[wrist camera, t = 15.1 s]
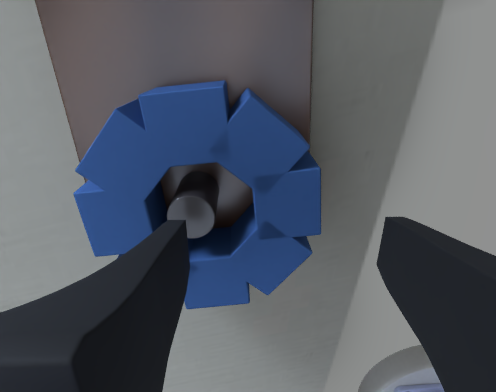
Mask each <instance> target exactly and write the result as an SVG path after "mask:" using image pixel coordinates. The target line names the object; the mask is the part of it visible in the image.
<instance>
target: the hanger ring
mask: <svg viewBox="0 0 496 392" xmlns="http://www.w3.org/2000/svg"><path fill="white" fill-rule="evenodd" d="M138 99H139V100H138ZM138 99H136V100H134V101H132V102H129V103H127V104H125V105H123V106H120V107H118V108H116V109H114V111H113V113H112V114H111V116H110V117H109V119H108V120H107V122H106V123H105V125H104V126H103V128H102V130H101V131H100V133H99V134H98V136H97V137H96V139H95V140H94V142H93V143H92V145H91V147H90V148H89V150H88V151H87V153H86V154H85V156H84V157H83V159H82V160H81V162H80V164H79V165H78V167H77V168H76V170H75V171H76V172H77V173H79V174H80V175H82V176H83V177H85V178H86V179H88V181H87V182H86V183H85V184H84V185H83V186H81V187H80V188H79V189H78V190H77V191H75V192H74V197H75V200H76V203H77V206H78V209H79V212H80V215H81V218H82V221H83V223H84V226H85V229H86V232H87V235H88V238H89V241H90V244H91V247H92V249H93V252H94V255H95V256H96V257H97V256H108V255H118V254H119V256H118V258H119V257H121V256H122V255H123V254H125V253H126V252H128V251H129V250H131V249H132V248H133V247H135V246H136V245H137V244H139V243H140V242H141V241H143V240H144V239H145V238H146V237H148V236H149V235H150V234H151V233H153V232H154V231H155V230H156V229H158V228H159V227H160V226H161V225H162V224H164V223H165V222H166V221H167V208H166V204H165V199H164V195H163V190H162V186H161V181H160V180H161V179H162V177H163V176H164V175H165V174H166V172H167V171H168V170H169V168H170V167H175V166H185V165H195V164H205V163H215V162H217V163H219V164H220V165H221V166H223V167H224V168H225V169H227V170H228V171H229V172H231V173H232V174H233V175H234V176H236V177H237V178H238V179H240V180H241V181H242V182H244V183H245V184H246V185H248V186H249V187H250V188H252V193H253V203H252V204H251V205H250V206H249V208H248V209H247V210H246V211H245V212H244V213H243V214H242V215H241V216H240V217H239V219H238V220H237V221H236V222H235V223H234V224H233V225H232V226H231V227H224V228H214V229H212V230H211V231H210V232H209V233H208V234H206V235H204V236H202V237H200V238H187V239H188V250H189V262H190V271H189V279H188V285H187V292H186V295H185V299H184V301H185V305H186V308H187V309H195V308H206V307H216V306H227V305H237V304H247V303H249V302H250V295H249V284H251V285H252V286H254V287H255V288H257V289H259V290H260V291H262V292H263V293H265V294H266V295H269V294H270V293H271V292H272V291H273V290H274V289H275V288H276V287H277V286H278V285H279V284H281V283H282V282H283V281H284V280H285V279H286V278H287V277H288V276H289V275H290V274H291V273H292V272H293V271H294V270H295V269H296V268H297V267H298V266H299V265H301V264H302V263H303V262H304V261H305V260H306V259H307V258H308V257H309V256H310V255H311V254H312V250H311V248H310V245H309V242H308V240H307V237H306V236H312V235H320V234H321V169H320V167H319V166H318V164H317V163H316V162H315V160H314V159H313V157H312V156H311V155H310V153H309V152H308V149H309V148H310V145H309V144H308V143H307V141H306V140H305V139H304V138H303V136H302V135H301V134H300V133H299V131H298V130H297V129H296V128H294V127H293V126H292V125H291V124H290V123H289V122H287V121H286V120H285V119H284V118H283V117H282V116H281V115H279V114H278V113H277V112H276V111H275V110H274V109H272V108H271V107H270V106H269V105H268V104H267V103H265V102H264V101H263V100H262V99H261V98H260V97H259V96H257V95H256V94H255V93H254V92H253V91H252V90H250V89H249V88H247V89H246V90H245V91H244V92H243V93H242V95H241V96H240V97H239V99H238V100H237V101H236V102H235V104H234V105H233V106H232V108H231V109H230V108H229V100H228V91H227V82H226V81H225V80H223V81H214V82H204V83H194V84H185V85H175V86H166V87H157V88H154V89H152V90H149V91H147V92H144V93H142V94H140V95H138ZM118 258H117V259H118Z"/></svg>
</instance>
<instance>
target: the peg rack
mask: <svg viewBox="0 0 496 392" xmlns="http://www.w3.org/2000/svg"><path fill="white" fill-rule="evenodd" d="M35 3H36V6H37V10H38V14H39V17H40V21H41V24H42V28H43V32H44V35H45V39H46V42H47V46H48V50H49V53H50V57H51V60H52V64H53V68H54V71H55V75H56V79H57V82H58V86H59V89H60V93H61V97H62V100H63V104H64V107H65V111H66V115H67V118H68V122H69V125H70V129H71V133H72V136H73V140H74V143H75V147H76V151H77V154H78V158H79V162H81V160H82V159H83V157H84V156H85V154H86V153H87V151H88V150H89V148H90V147H91V145H92V143H93V142H94V140H95V139H96V137H97V136H98V134H99V133H100V131H101V130H102V128H103V126H104V125H105V123H106V122H107V120H108V119H109V117H110V116H111V114H112V113H113V111H114V109H116V108H118V107H120V106H123V105H125V104H127V103H129V102H132V101H134V100H136V99H138V95H140V94H142V93H144V92H147V91H149V90H152V89H154V88H157V87H166V86H175V85H185V84H194V83H204V82H214V81H223V80H225V81H226V82H227V91H228V100H229V108H230V109H231V108H232V106H233V105H234V104H235V102H236V101H237V100H238V99H239V97H240V96H241V95H242V93H243V92H244V91H245V90H246V89H247V88H249V89H250V90H252V91H253V92H254V93H255V94H256V95H257V96H259V97H260V98H261V99H262V100H263V101H264V102H265V103H267V104H268V105H269V106H270V107H271V108H272V109H274V110H275V111H276V112H277V113H278V114H279V115H281V116H282V117H283V118H284V119H285V120H286V121H287V122H289V123H290V124H291V125H292V126H293V127H294V128H296V129H297V130H298V131H299V133H300V134H301V135H302V136H303V138H304V139H305V140H306V141H307V143H308V144H309V145H310V121H311V82H312V43H313V4H314V0H35ZM138 100H139V99H138ZM308 152H309V153H310V148H309V149H308ZM84 180H85V183H86V182H87V181H88V179H86V178H85V177H84ZM160 181H161V186H162V190H163V195H164V199H165V204H166V208H167V221H168V220H186V227H187V238H200V237H202V236H204V235H206V234H208V233H209V232H210V231H211V230H212V229H214V228H224V227H231V226H232V225H233V224H234V223H235V222H236V221H237V220H238V219H239V217H240V216H241V215H242V214H243V213H244V212H245V211H246V210H247V209H248V208H249V206H250V205H251V204H252V203H253V193H252V188H250V187H249V186H248V185H246V184H245V183H244V182H242V181H241V180H240V179H238V178H237V177H236V176H234V175H233V174H232V173H231V172H229V171H228V170H227V169H225V168H224V167H223V166H221V165H220V164H219V163H217V162H215V163H205V164H195V165H185V166H175V167H170V168H169V170H168V171H167V172H166V174H165V175H164V176H163V177H162V179H161V180H160Z"/></svg>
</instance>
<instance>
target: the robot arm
mask: <svg viewBox="0 0 496 392" xmlns="http://www.w3.org/2000/svg"><path fill="white" fill-rule="evenodd" d="M377 266H378V269H379V271H380V274H381V276H382V279H383V281H384V283H385V285H386V287H387V289H388V291H389V293H390V294H391V296H392V297H393V299H394V301H395V302H396V304H397V306H398V307H399V309H400V311H401V312H402V314H403V315H404V317H405V319H406V320H407V322H408V323H409V325H410V327H411V328H412V330H413V331H414V333H415V335H416V336H417V338H418V339H419V341H420V343H421V344H422V346H423V348H424V350H425V352H426V353H427V355H428V357H429V359H430V361H431V363H432V365H433V367H434V370H435V372H436V374H437V376H438V378H439V380H440V382H441V383H438V384H422V385H406V386H398V387H396V388H395V390H394V392H496V256H494V255H492V254H489V253H487V252H484V251H482V250H480V249H477V248H475V247H472V246H470V245H468V244H465V243H463V242H461V241H458V240H456V239H454V238H452V237H449V236H447V235H445V234H443V233H441V232H439V231H436V230H434V229H432V228H430V227H427V226H425V225H423V224H421V223H418V222H416V221H413V220H411V219H408V218H405V217H386V218H385V223H384V229H383V234H382V239H381V244H380V250H379V254H378V260H377ZM189 271H190V262H189V250H188V239H187V227H186V220H168V221H166V222H165V223H164V224H162V225H161V226H160V227H159V228H158V229H156V230H155V231H154V232H153V233H151V234H150V235H149V236H148V237H146V238H145V239H144V240H143V241H141V242H140V243H139V244H137V245H136V246H135V247H133V248H132V249H131V250H129V251H128V252H126V253H125V254H123V255H122V256H121V257H119V258H118V259H116V260H115V261H113V262H112V263H110V264H108V265H107V266H105V267H104V268H102V269H100V270H98V271H97V272H95V273H93V274H91V275H89V276H88V277H86V278H84V279H82V280H79V281H77V282H75V283H73V284H71V285H69V286H67V287H65V288H63V289H61V290H59V291H56V292H54V293H52V294H49V295H47V296H44V297H42V298H40V299H37V300H34V301H32V302H29V303H26V304H24V305H21V306H18V307H16V308H13V309H10V310H7V311H4V312H1V313H0V392H162V390H163V384H164V378H165V373H166V367H167V361H168V357H169V353H170V348H171V345H172V341H173V338H174V334H175V331H176V327H177V324H178V320H179V317H180V313H181V310H182V306H183V303H184V299H185V295H186V292H187V285H188V279H189Z"/></svg>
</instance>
